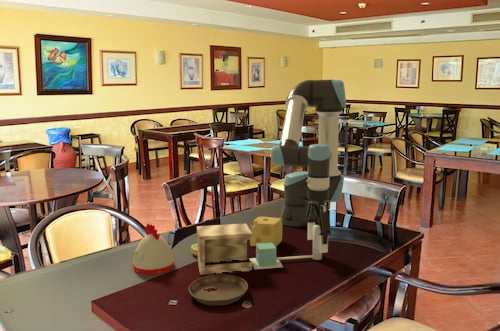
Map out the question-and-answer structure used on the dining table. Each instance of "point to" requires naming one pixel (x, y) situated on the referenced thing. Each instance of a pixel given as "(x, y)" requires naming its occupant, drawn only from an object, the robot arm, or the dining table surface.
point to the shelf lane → (222, 247)
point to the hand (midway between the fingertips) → (317, 245)
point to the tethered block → (268, 257)
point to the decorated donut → (194, 249)
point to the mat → (256, 266)
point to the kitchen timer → (152, 253)
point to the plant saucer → (218, 289)
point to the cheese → (266, 231)
